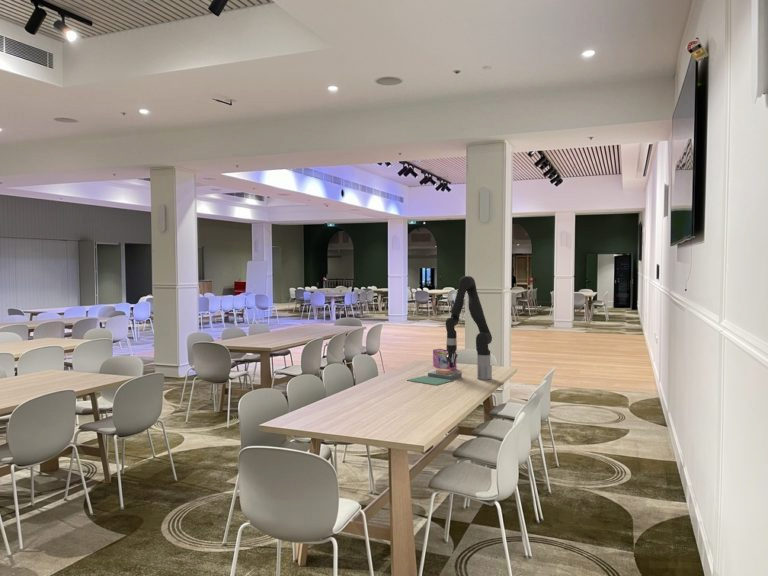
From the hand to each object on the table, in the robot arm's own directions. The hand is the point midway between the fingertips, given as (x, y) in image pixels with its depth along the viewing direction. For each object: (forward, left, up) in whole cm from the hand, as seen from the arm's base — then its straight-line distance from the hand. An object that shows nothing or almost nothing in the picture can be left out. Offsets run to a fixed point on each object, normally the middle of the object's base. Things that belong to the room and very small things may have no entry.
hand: (451, 367), depth 420 cm
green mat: (0, +26, -6) cm, 27 cm away
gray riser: (0, +9, -6) cm, 11 cm away
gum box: (+23, -23, -6) cm, 33 cm away
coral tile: (0, +10, -3) cm, 10 cm away
